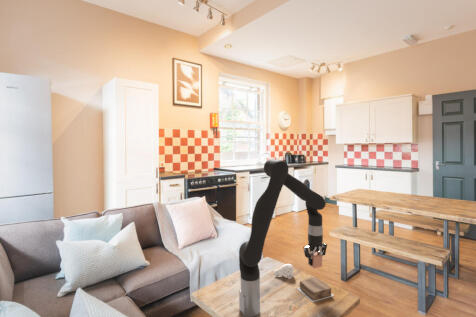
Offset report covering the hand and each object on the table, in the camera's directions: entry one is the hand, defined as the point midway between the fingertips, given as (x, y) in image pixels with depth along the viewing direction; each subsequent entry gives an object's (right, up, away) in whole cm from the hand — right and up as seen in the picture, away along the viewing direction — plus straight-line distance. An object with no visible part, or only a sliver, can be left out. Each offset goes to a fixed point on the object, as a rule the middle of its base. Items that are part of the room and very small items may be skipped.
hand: (315, 263), depth 140 cm
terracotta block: (0, -1, 0) cm, 1 cm away
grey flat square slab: (0, -16, +1) cm, 16 cm away
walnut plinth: (0, -15, +1) cm, 15 cm away
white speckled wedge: (-14, -16, +18) cm, 28 cm away
